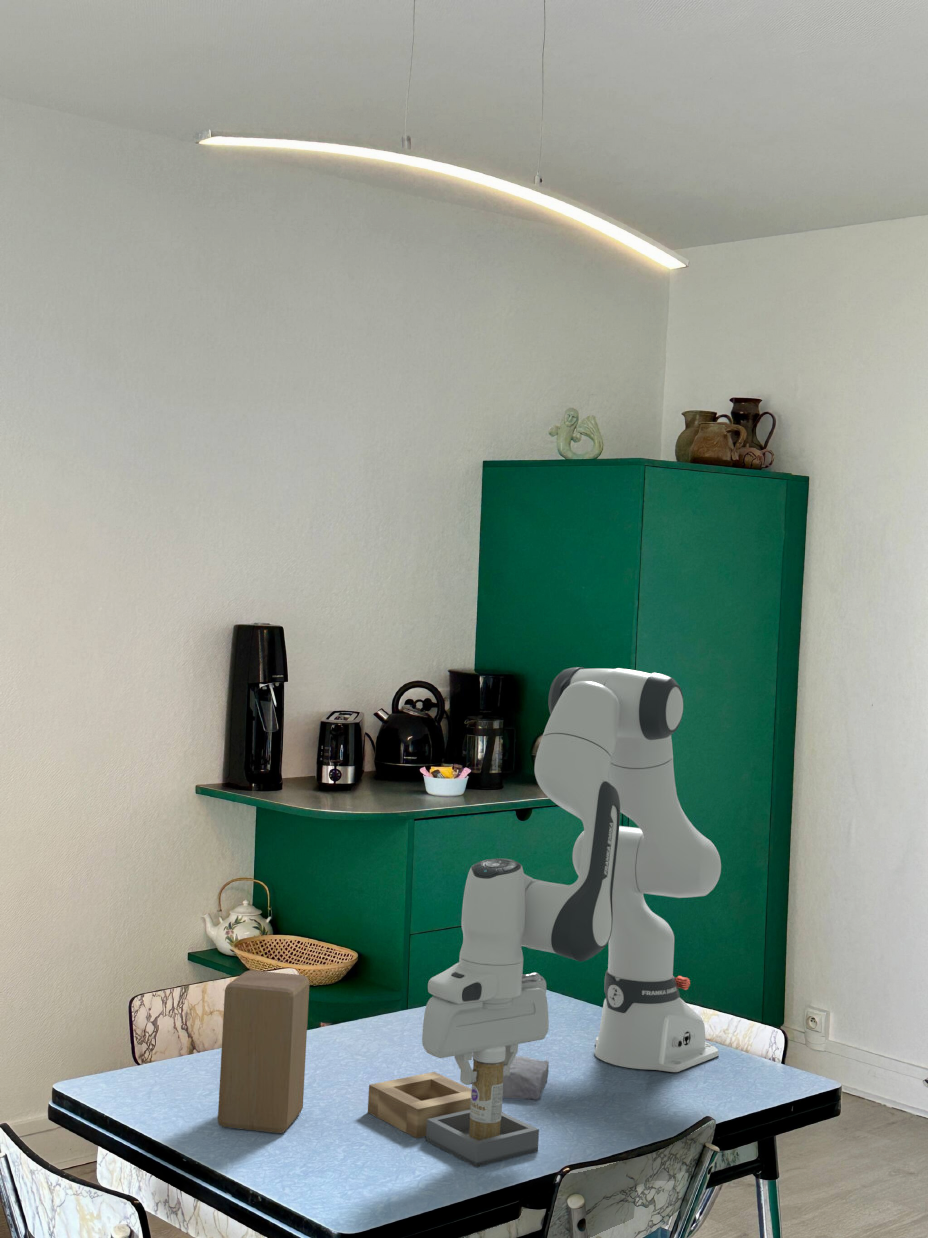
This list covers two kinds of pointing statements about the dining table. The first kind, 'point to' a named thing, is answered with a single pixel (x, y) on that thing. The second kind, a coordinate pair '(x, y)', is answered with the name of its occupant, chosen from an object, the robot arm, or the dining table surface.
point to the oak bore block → (417, 1101)
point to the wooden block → (263, 1051)
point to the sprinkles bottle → (487, 1093)
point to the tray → (456, 1140)
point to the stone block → (526, 1078)
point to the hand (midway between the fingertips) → (485, 1080)
